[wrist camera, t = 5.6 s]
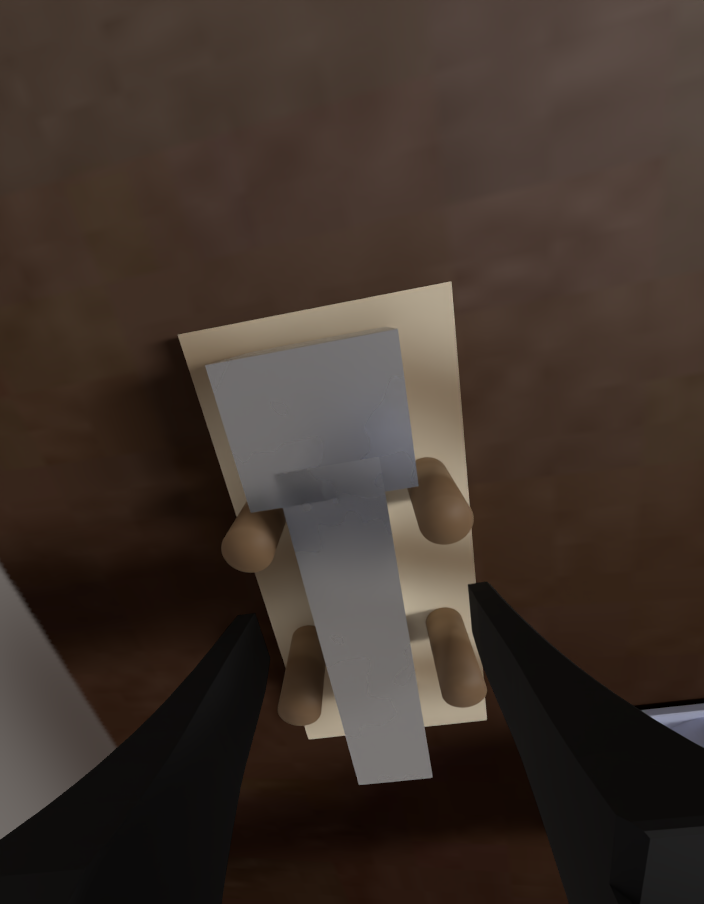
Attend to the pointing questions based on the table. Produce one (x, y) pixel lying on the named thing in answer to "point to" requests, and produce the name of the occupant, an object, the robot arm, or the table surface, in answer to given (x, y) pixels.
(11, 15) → the table surface
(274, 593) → the peg cradle
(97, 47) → the table surface
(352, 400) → the bar
